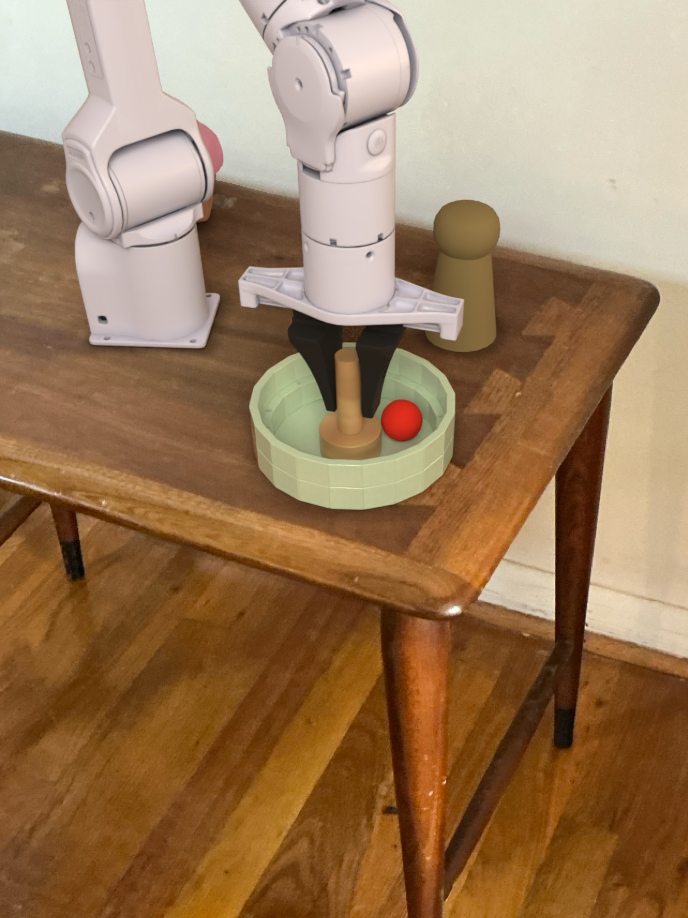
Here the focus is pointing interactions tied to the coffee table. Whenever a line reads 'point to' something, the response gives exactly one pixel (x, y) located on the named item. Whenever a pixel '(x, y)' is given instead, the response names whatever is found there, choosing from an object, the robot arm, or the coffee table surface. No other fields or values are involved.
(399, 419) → the red ball
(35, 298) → the coffee table surface
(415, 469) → the bowl
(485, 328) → the cork
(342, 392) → the wooden peg on base
